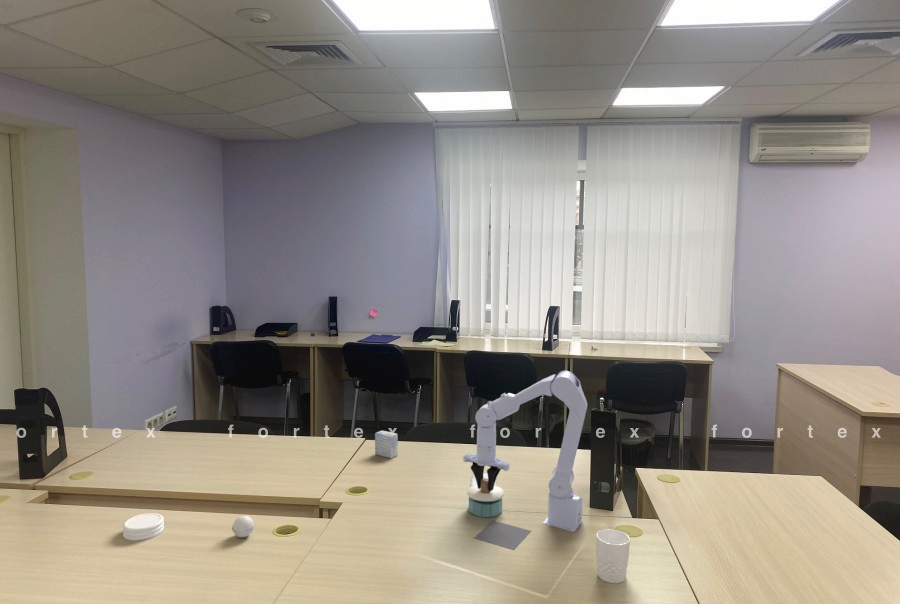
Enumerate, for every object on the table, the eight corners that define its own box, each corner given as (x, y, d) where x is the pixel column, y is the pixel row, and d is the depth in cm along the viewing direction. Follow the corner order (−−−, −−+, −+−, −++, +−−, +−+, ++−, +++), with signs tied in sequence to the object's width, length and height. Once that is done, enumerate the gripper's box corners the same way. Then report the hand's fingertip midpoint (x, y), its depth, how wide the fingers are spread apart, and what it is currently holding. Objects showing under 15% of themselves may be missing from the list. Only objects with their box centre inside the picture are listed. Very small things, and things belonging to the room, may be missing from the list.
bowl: (507, 509, 176) (507, 495, 175) (492, 522, 167) (493, 508, 167) (478, 502, 181) (478, 488, 180) (462, 514, 172) (463, 500, 172)
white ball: (232, 533, 159) (231, 513, 158) (253, 529, 161) (253, 510, 160) (232, 546, 151) (231, 526, 151) (255, 543, 153) (254, 522, 153)
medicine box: (398, 455, 220) (398, 433, 220) (390, 459, 217) (390, 436, 216) (382, 451, 225) (382, 430, 224) (374, 454, 221) (374, 432, 220)
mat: (531, 532, 161) (531, 530, 161) (514, 551, 151) (514, 549, 151) (492, 522, 167) (492, 520, 167) (473, 539, 157) (473, 537, 157)
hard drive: (473, 472, 202) (470, 486, 190) (496, 473, 201) (495, 487, 189) (473, 476, 202) (470, 491, 190) (496, 478, 201) (495, 492, 189)
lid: (509, 490, 175) (509, 477, 175) (494, 504, 166) (494, 490, 165) (476, 483, 181) (476, 471, 180) (460, 496, 171) (461, 483, 171)
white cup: (622, 567, 144) (623, 528, 143) (633, 585, 136) (634, 544, 135) (591, 567, 144) (592, 528, 143) (600, 585, 136) (601, 545, 135)
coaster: (165, 521, 165) (165, 510, 165) (162, 538, 156) (161, 525, 156) (126, 527, 161) (125, 515, 161) (120, 544, 152) (119, 531, 152)
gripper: (458, 444, 172) (458, 488, 173) (502, 453, 165) (501, 499, 166) (469, 438, 178) (469, 480, 179) (512, 446, 171) (511, 490, 172)
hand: (485, 488), depth 173 cm, fingers closed on lid, 3 cm apart
